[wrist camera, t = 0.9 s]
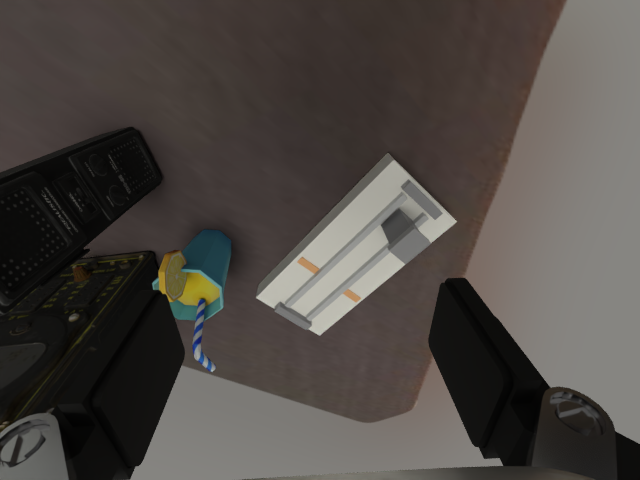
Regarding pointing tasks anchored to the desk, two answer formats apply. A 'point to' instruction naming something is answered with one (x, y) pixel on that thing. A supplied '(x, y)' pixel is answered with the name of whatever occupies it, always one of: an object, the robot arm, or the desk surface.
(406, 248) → the fader tab
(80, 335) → the black speaker
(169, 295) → the cup
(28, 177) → the portable radio
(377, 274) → the slider track base
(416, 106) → the desk surface
